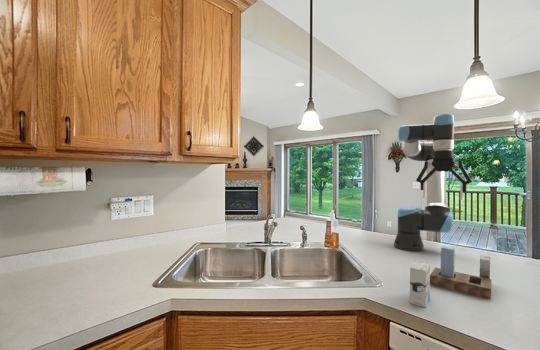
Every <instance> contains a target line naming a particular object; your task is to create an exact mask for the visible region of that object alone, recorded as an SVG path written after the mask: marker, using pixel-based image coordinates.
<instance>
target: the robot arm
mask: <svg viewBox="0 0 540 350" xmlns="http://www.w3.org/2000/svg"><path fill="white" fill-rule="evenodd" d="M454 132H455V115H454V114H451V113H444V114H443V113H442V114H436V116H434V117H433V123H428V124H426V123H425V124H413V125H412V124H410V125H406V124H405V125H401V126H399V127H398V130H397V134H398V135H397V140H398V141H399V142H403V145H402V153H403V155H404V156H405V157H407V158H408V159H410V160H412V161H417V162H424V164H423V168H422V170H421V171H420V173H419V174H418V176H417V178H416V180H415V181H416V182H418V183H419V184H420V191H422V194H423V195H422V198H423V199H426V198H427V197H428V198H427V199H428V201H427V203H428V204H427V205H426V206H425V207H424V209H422V208H421V207H420V206H403V207H400V208H398V211H397V234H396V236H395V238H394V241H393V246H394V247H395V248H397V249H400V250H403V251H404V250H405V251H410V252H411V251H412V252H421V251H423V250H425V249H424V247H425V245H424V242H423V239H422V236H421V231H422V232H430V233H431V232H432V233H444V234H446V233H447V234H448V233H450V232H451V231H452V226H453V223H454V222H453V220H454V212H453V211H450V210H451V209H450V207H449V206H448V205H447V176H446V175H447V174H446V172H450V173H451V174H452V175H453V176H454V177H455V178H456V179H457V180H458V181H459V182H460V183H461V184H460V185H459V188H460V189H459V200H460V201H463V200H464V193H467V185H469V184H471V183H473V180H472V179H471V177H470V175H469V173H467V170H466V169H465V167H464V164H463V161H461V160H458V161H455V160H454V155H455V154H454V153H455V151H454V149H455V143H454V142H455V139H454V135H455V133H454ZM432 140H433V141H432ZM455 165H456V167H458V168H459V169H460V171H461V173H462V175H463V176H464V178H463V177H461V175H460V174H459V173H457V172H456V170H455V169H454V168H453V167H454V166H455ZM427 170H428V172H427ZM426 172H427V175H426V176H424V175H425V173H426ZM464 179H466V180H464ZM426 182H428V187H427V183H426ZM427 188H428V189H427ZM427 190H428V193H427ZM427 195H428V196H427Z"/></svg>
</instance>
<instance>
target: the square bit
mask: <svg viewBox="0 0 540 350" xmlns="http://www.w3.org/2000/svg"><path fill="white" fill-rule="evenodd" d="M455 252H456V247H454V246H447V245H442V246H441V247H440V269H441V275H443V276H447V277H452V278H454V272H455V261H456V260H455V258H456V257H455V256H456V255H455V254H456V253H455Z"/></svg>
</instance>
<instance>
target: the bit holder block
mask: <svg viewBox="0 0 540 350" xmlns="http://www.w3.org/2000/svg"><path fill="white" fill-rule="evenodd" d="M433 268H434V269H432V271H431V272H430V285H432V286H437V287H441V288H444V289H447V290H452V291H456V292H461V293H465V294H468V295H473V296H476V297H480V296H481V297H480V298H484V297H486V298H485V299H488V298H489V299H488V300H491V298H492V278H490V279H488V278H483V277H480V276H477V275H472V274H468V273H462V272H459V271H454V278H452V277H447V276H443V275H441V267H433Z"/></svg>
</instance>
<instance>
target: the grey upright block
mask: <svg viewBox="0 0 540 350" xmlns="http://www.w3.org/2000/svg"><path fill="white" fill-rule="evenodd" d="M479 277H483V278H488V279H491V256H487V255H482V254H480V257H479Z"/></svg>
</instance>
